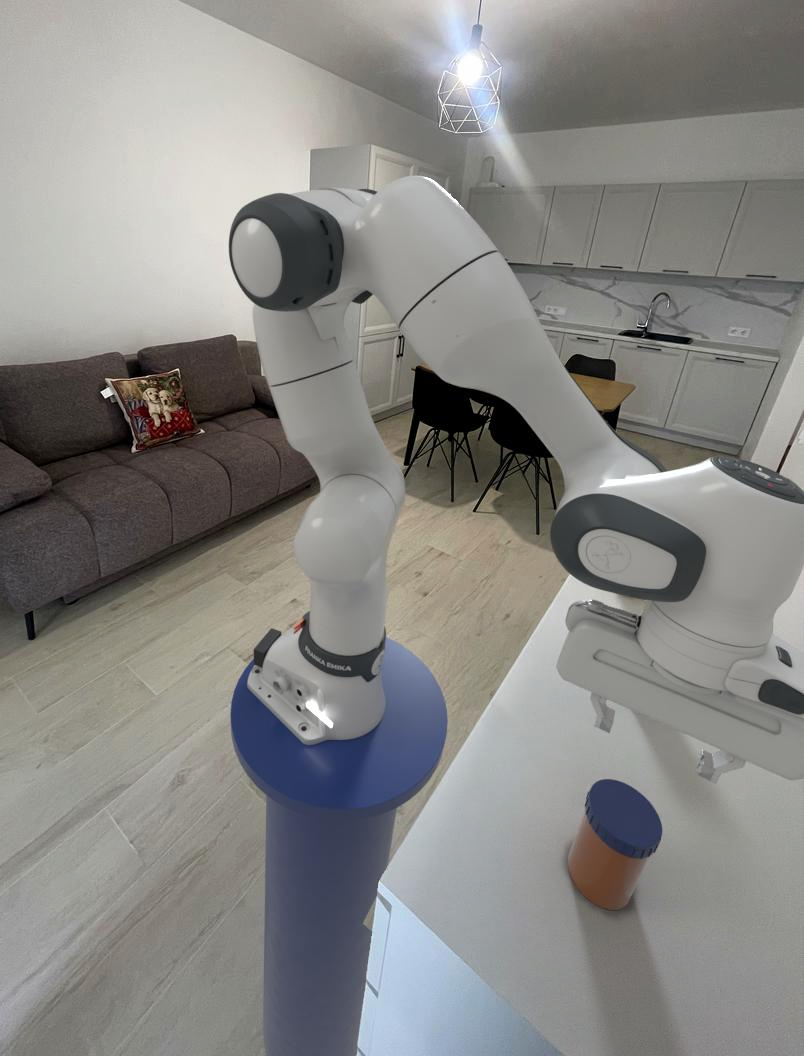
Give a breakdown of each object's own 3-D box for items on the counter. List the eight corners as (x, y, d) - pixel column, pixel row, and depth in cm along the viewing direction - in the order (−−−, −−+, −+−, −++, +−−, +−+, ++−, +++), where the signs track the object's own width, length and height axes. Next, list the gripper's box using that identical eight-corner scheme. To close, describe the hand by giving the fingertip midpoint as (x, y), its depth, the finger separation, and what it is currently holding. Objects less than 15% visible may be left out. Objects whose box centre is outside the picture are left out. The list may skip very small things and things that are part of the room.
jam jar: (562, 883, 55) (585, 822, 51) (573, 831, 61) (594, 772, 57) (627, 925, 52) (657, 863, 48) (632, 866, 57) (659, 806, 54)
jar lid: (579, 831, 52) (583, 819, 51) (589, 777, 58) (593, 766, 57) (656, 875, 49) (661, 864, 48) (659, 813, 54) (664, 802, 54)
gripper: (566, 609, 46) (536, 718, 51) (857, 719, 37) (784, 840, 42) (578, 577, 51) (550, 679, 56) (836, 666, 42) (773, 780, 47)
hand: (651, 748), depth 49 cm, fingers open, 8 cm apart
